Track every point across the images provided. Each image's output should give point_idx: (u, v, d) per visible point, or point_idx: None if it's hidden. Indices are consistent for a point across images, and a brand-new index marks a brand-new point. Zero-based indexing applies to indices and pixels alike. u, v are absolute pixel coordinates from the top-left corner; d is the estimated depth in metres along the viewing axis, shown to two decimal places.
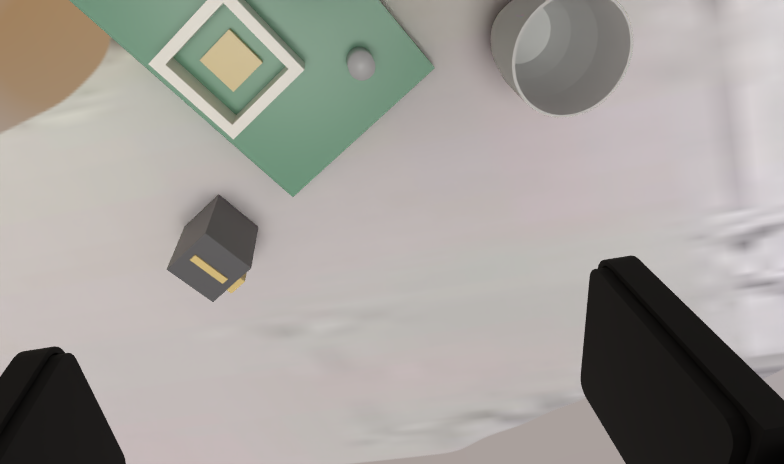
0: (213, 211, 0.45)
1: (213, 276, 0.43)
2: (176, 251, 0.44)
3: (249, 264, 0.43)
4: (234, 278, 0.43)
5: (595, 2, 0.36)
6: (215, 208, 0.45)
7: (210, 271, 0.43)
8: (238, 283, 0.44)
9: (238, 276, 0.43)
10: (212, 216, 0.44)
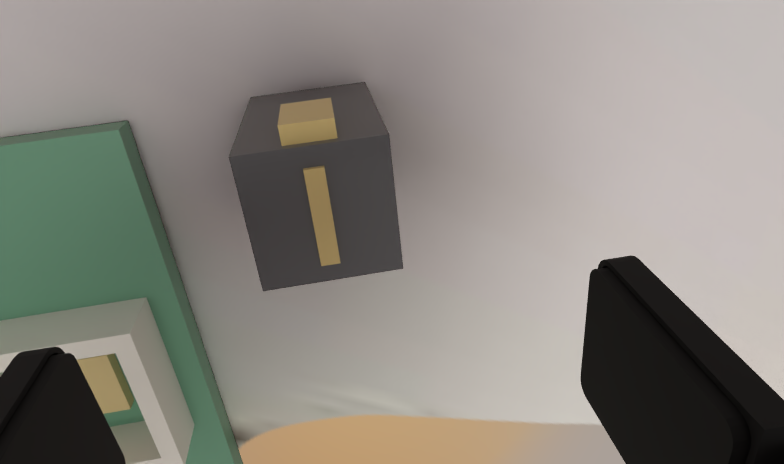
0: None
1: (328, 196, 0.16)
2: None
3: None
4: (289, 157, 0.15)
5: None
6: None
7: (323, 213, 0.16)
8: (296, 130, 0.15)
9: (275, 156, 0.15)
10: None
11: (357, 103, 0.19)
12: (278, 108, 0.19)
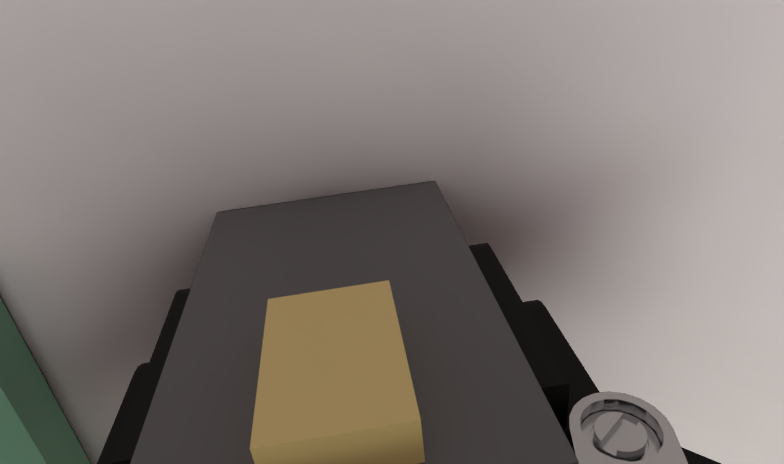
0: None
1: None
2: None
3: None
4: None
5: None
6: None
7: None
8: (307, 455, 0.05)
9: None
10: None
11: (438, 261, 0.09)
12: (267, 263, 0.09)
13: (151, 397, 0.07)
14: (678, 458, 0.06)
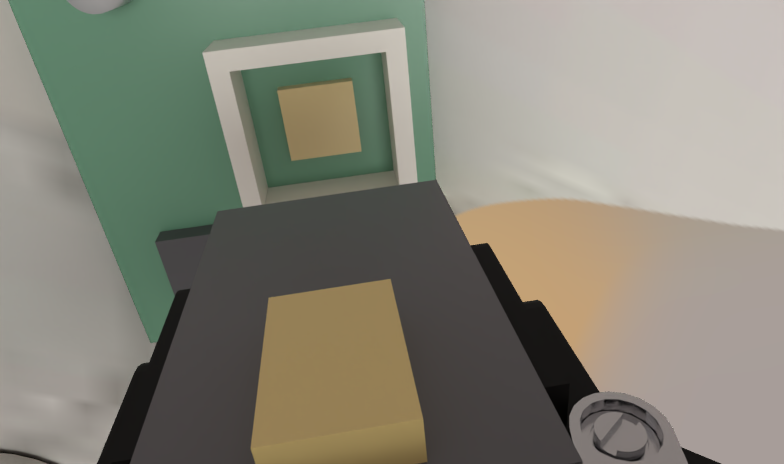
0: None
1: None
2: None
3: None
4: None
5: None
6: None
7: None
8: (308, 454, 0.05)
9: None
10: None
11: (440, 259, 0.09)
12: (267, 262, 0.09)
13: (151, 397, 0.07)
14: (678, 458, 0.06)
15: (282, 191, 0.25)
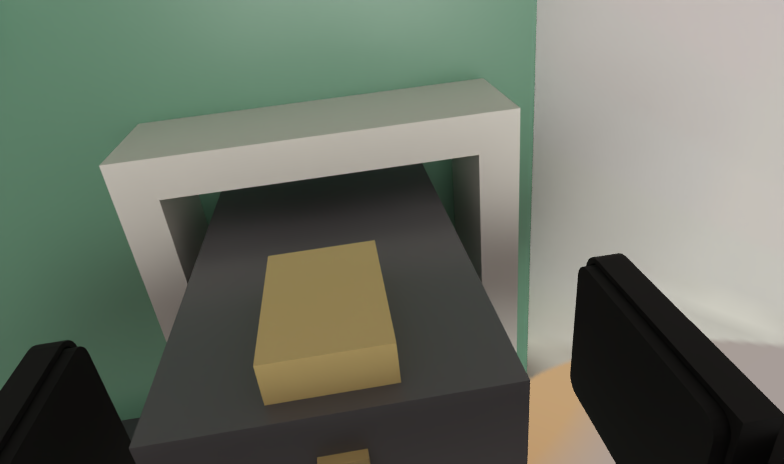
0: None
1: None
2: None
3: None
4: (283, 440, 0.06)
5: None
6: None
7: None
8: (301, 373, 0.06)
9: (248, 440, 0.06)
10: None
11: (421, 229, 0.10)
12: (267, 232, 0.10)
13: None
14: None
15: None
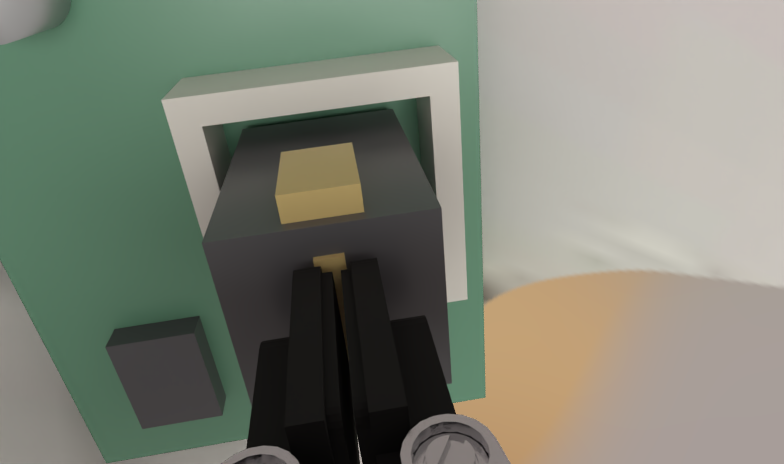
0: None
1: None
2: None
3: None
4: (292, 243, 0.10)
5: None
6: None
7: (341, 318, 0.11)
8: (303, 202, 0.10)
9: (271, 241, 0.10)
10: None
11: (387, 144, 0.14)
12: (278, 149, 0.14)
13: (303, 367, 0.08)
14: None
15: None
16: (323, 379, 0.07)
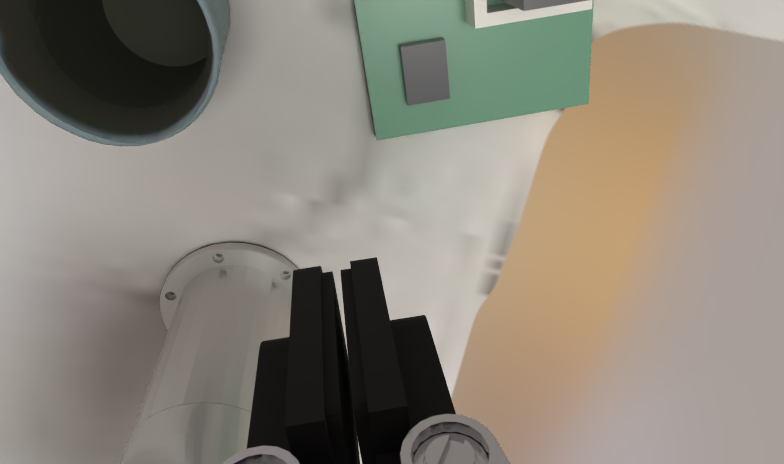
0: (503, 0, 0.33)
1: None
2: None
3: None
4: None
5: None
6: None
7: None
8: None
9: None
10: (507, 1, 0.32)
11: None
12: None
13: (303, 367, 0.08)
14: None
15: (490, 7, 0.36)
16: (322, 380, 0.07)
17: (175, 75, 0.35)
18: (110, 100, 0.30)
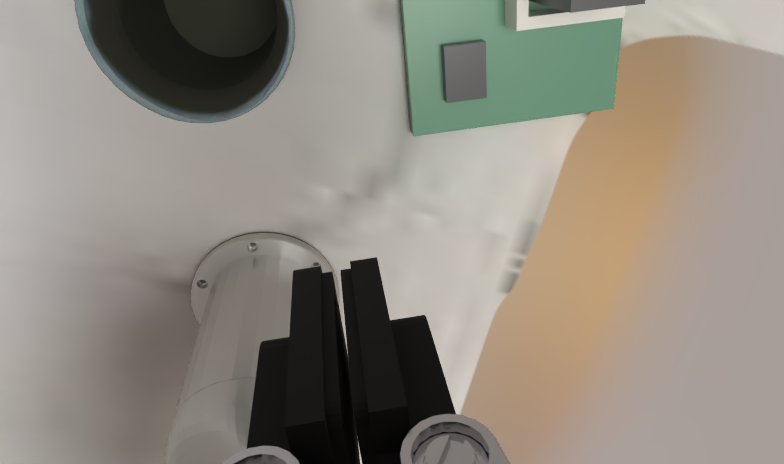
0: (546, 4, 0.35)
1: None
2: None
3: None
4: None
5: None
6: (542, 2, 0.35)
7: None
8: None
9: None
10: (551, 4, 0.34)
11: None
12: None
13: (303, 367, 0.08)
14: None
15: (529, 12, 0.38)
16: (323, 380, 0.07)
17: (229, 64, 0.37)
18: (177, 81, 0.31)
